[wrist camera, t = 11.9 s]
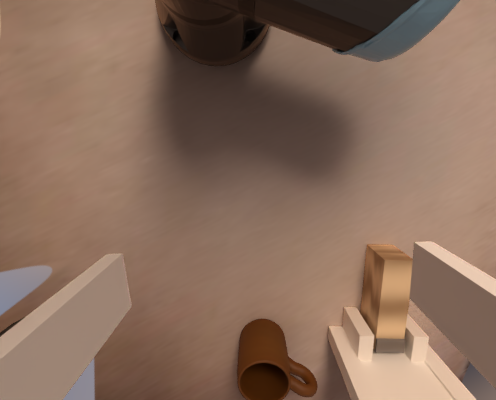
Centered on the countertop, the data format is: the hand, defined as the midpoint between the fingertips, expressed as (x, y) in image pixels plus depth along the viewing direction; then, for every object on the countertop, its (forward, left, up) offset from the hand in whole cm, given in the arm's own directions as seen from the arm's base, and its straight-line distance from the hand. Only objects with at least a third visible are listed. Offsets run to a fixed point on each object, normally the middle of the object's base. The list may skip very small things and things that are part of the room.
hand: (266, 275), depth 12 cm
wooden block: (+16, +19, -30) cm, 39 cm away
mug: (+27, +3, -30) cm, 40 cm away
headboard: (+23, +19, -30) cm, 42 cm away
